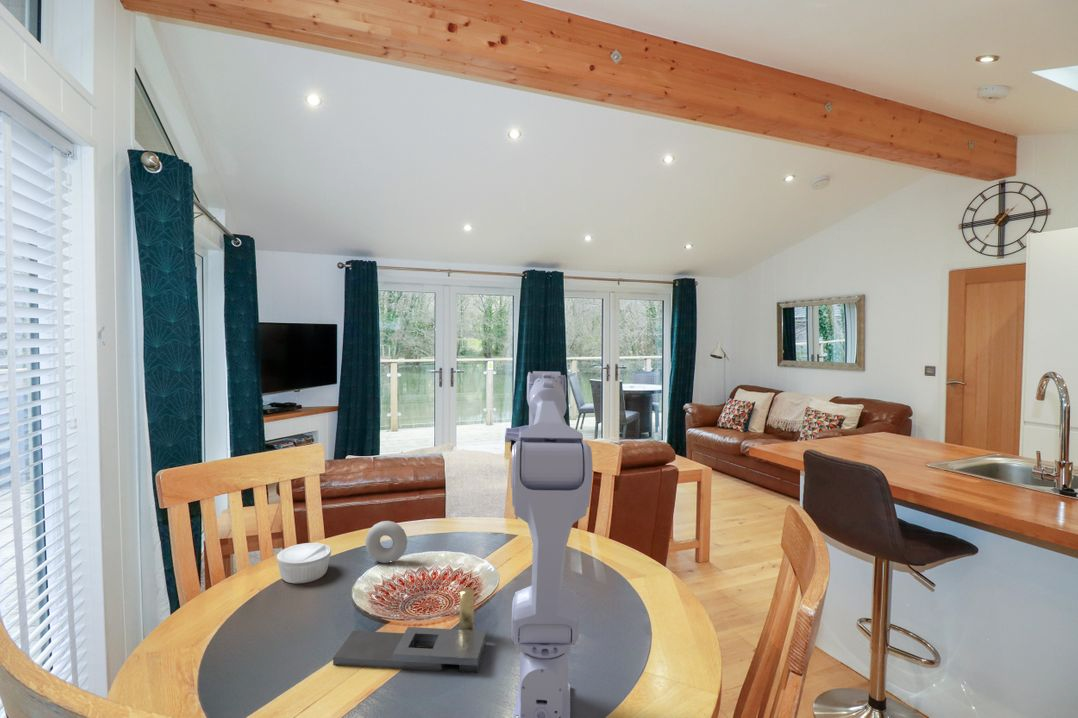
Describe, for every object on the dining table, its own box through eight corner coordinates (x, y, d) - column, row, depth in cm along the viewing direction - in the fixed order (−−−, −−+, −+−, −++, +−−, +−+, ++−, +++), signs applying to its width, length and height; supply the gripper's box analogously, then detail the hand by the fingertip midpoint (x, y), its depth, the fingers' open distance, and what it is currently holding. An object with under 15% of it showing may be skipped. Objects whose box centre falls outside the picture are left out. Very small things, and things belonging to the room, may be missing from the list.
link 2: (477, 672, 85) (477, 658, 85) (392, 668, 86) (392, 653, 86) (485, 644, 93) (485, 630, 93) (407, 640, 94) (407, 626, 94)
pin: (472, 637, 95) (472, 594, 95) (457, 637, 95) (458, 593, 95) (474, 629, 98) (475, 587, 97) (460, 629, 98) (461, 587, 98)
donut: (409, 560, 127) (409, 519, 127) (404, 566, 124) (404, 524, 124) (368, 558, 128) (368, 518, 128) (363, 564, 125) (363, 523, 124)
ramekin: (331, 582, 116) (331, 558, 116) (274, 590, 112) (274, 565, 112) (331, 561, 126) (331, 539, 126) (279, 568, 122) (279, 545, 122)
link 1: (440, 670, 86) (441, 663, 86) (333, 664, 87) (333, 657, 87) (452, 642, 94) (452, 635, 94) (353, 637, 95) (353, 630, 95)
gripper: (585, 407, 98) (579, 448, 108) (507, 400, 99) (508, 442, 108) (584, 438, 93) (578, 478, 103) (502, 431, 94) (504, 472, 104)
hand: (542, 462), depth 105 cm, fingers open, 7 cm apart
